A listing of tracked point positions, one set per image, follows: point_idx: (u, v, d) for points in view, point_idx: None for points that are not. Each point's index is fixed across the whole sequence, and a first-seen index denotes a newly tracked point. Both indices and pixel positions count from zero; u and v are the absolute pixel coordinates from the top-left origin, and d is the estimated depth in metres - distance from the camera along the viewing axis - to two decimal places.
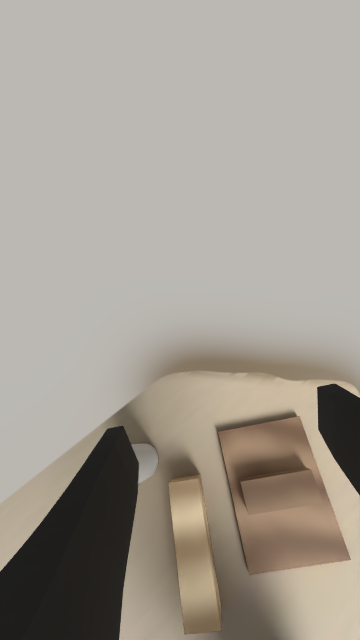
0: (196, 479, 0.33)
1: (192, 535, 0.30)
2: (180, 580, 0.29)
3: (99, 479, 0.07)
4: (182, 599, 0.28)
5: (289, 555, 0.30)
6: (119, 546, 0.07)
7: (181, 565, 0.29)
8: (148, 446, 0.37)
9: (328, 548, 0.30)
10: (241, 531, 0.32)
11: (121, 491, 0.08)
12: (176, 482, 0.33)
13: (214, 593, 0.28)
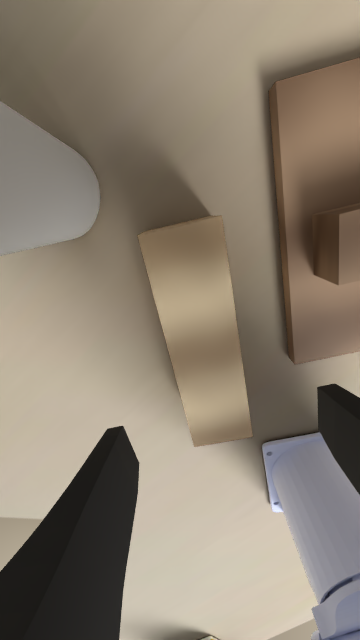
0: (217, 218, 0.11)
1: (206, 334, 0.14)
2: (184, 396, 0.15)
3: (99, 479, 0.07)
4: (189, 416, 0.16)
5: None
6: (119, 546, 0.07)
7: (184, 378, 0.15)
8: None
9: None
10: (294, 311, 0.16)
11: (121, 491, 0.08)
12: (160, 232, 0.12)
13: (246, 403, 0.16)
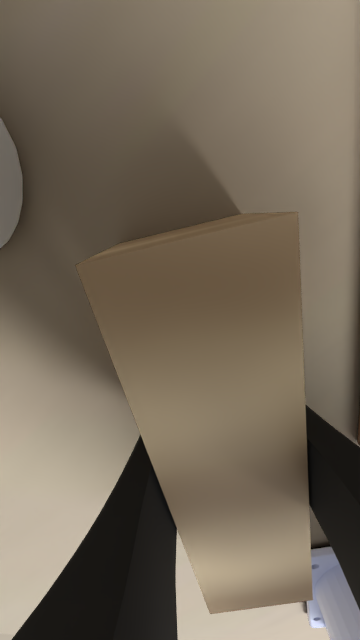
0: (286, 220, 0.04)
1: (240, 462, 0.07)
2: (193, 553, 0.08)
3: (151, 469, 0.07)
4: (202, 578, 0.09)
5: None
6: (169, 538, 0.07)
7: (194, 529, 0.08)
8: None
9: None
10: None
11: None
12: (135, 256, 0.04)
13: (307, 558, 0.08)
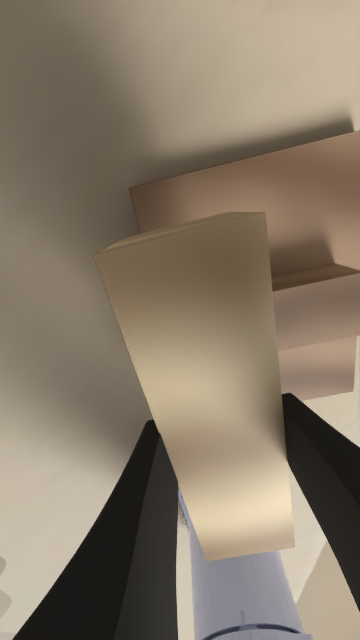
0: (256, 218, 0.06)
1: (228, 419, 0.08)
2: (190, 503, 0.10)
3: (152, 469, 0.07)
4: (198, 527, 0.10)
5: None
6: (170, 538, 0.07)
7: (191, 480, 0.09)
8: None
9: (324, 382, 0.18)
10: None
11: (167, 483, 0.08)
12: (140, 247, 0.06)
13: (288, 507, 0.10)
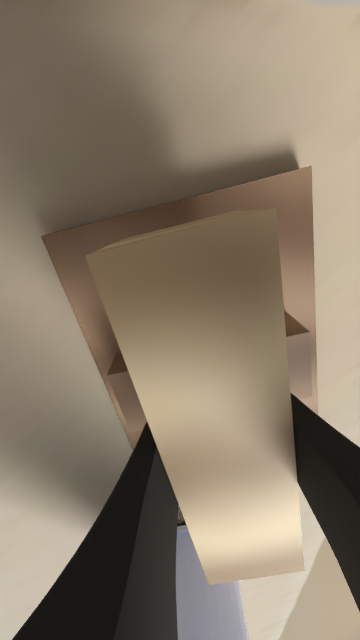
0: (266, 215, 0.05)
1: (233, 435, 0.07)
2: (192, 524, 0.09)
3: (151, 469, 0.07)
4: (200, 548, 0.09)
5: None
6: (170, 538, 0.07)
7: (192, 499, 0.08)
8: None
9: None
10: (127, 428, 0.16)
11: (167, 483, 0.08)
12: (137, 247, 0.05)
13: (297, 529, 0.09)
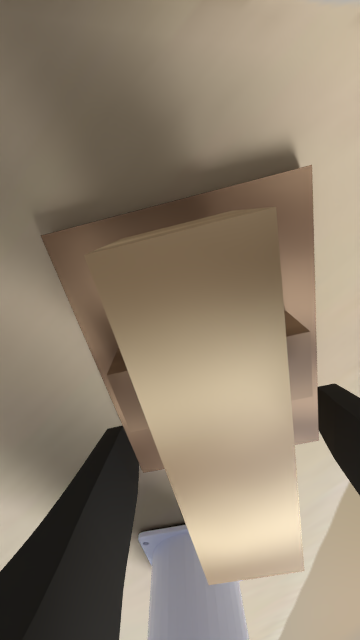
0: (266, 214, 0.05)
1: (233, 435, 0.07)
2: (191, 524, 0.09)
3: (99, 479, 0.07)
4: (200, 549, 0.09)
5: None
6: (119, 546, 0.07)
7: (192, 500, 0.08)
8: None
9: None
10: (127, 428, 0.16)
11: (121, 491, 0.08)
12: (136, 246, 0.05)
13: (297, 529, 0.09)
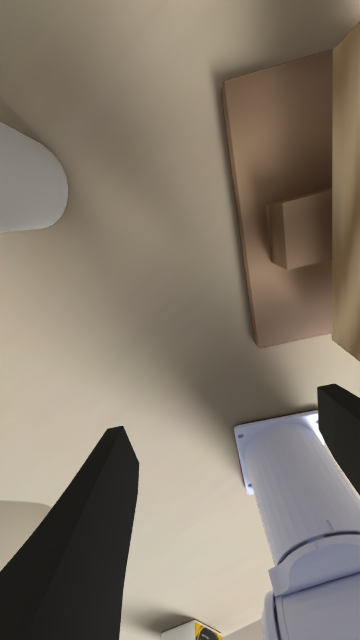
0: None
1: None
2: None
3: (99, 479, 0.07)
4: None
5: (328, 319, 0.18)
6: (119, 546, 0.07)
7: None
8: None
9: None
10: (255, 296, 0.17)
11: (121, 491, 0.08)
12: None
13: None
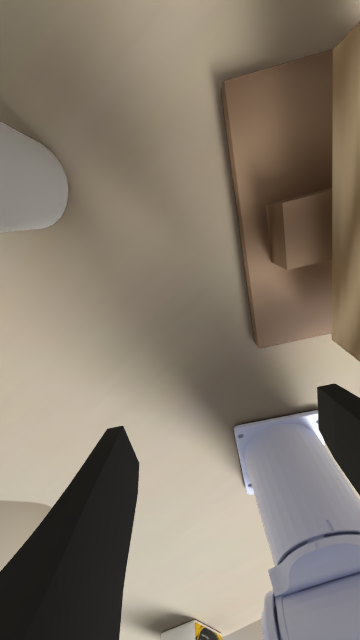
0: None
1: None
2: None
3: (99, 479, 0.07)
4: None
5: (328, 319, 0.18)
6: (119, 546, 0.07)
7: None
8: None
9: None
10: (255, 296, 0.17)
11: (121, 491, 0.08)
12: None
13: None
